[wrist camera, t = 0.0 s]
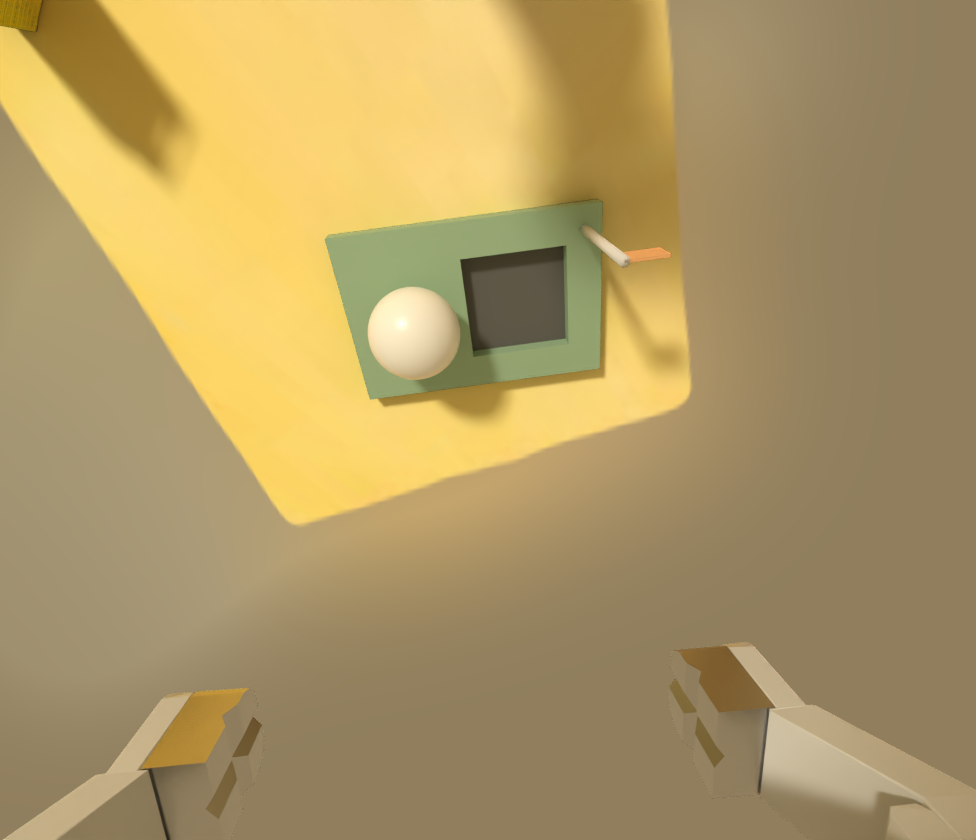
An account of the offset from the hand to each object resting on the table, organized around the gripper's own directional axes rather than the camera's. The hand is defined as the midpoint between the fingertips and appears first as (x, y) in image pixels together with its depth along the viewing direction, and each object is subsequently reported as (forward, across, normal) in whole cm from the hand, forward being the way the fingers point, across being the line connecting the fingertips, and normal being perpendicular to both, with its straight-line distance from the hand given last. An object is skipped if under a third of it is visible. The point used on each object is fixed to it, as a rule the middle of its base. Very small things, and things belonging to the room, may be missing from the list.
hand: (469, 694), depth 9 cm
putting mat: (+52, -4, -7) cm, 53 cm away
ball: (+46, +4, -4) cm, 46 cm away
